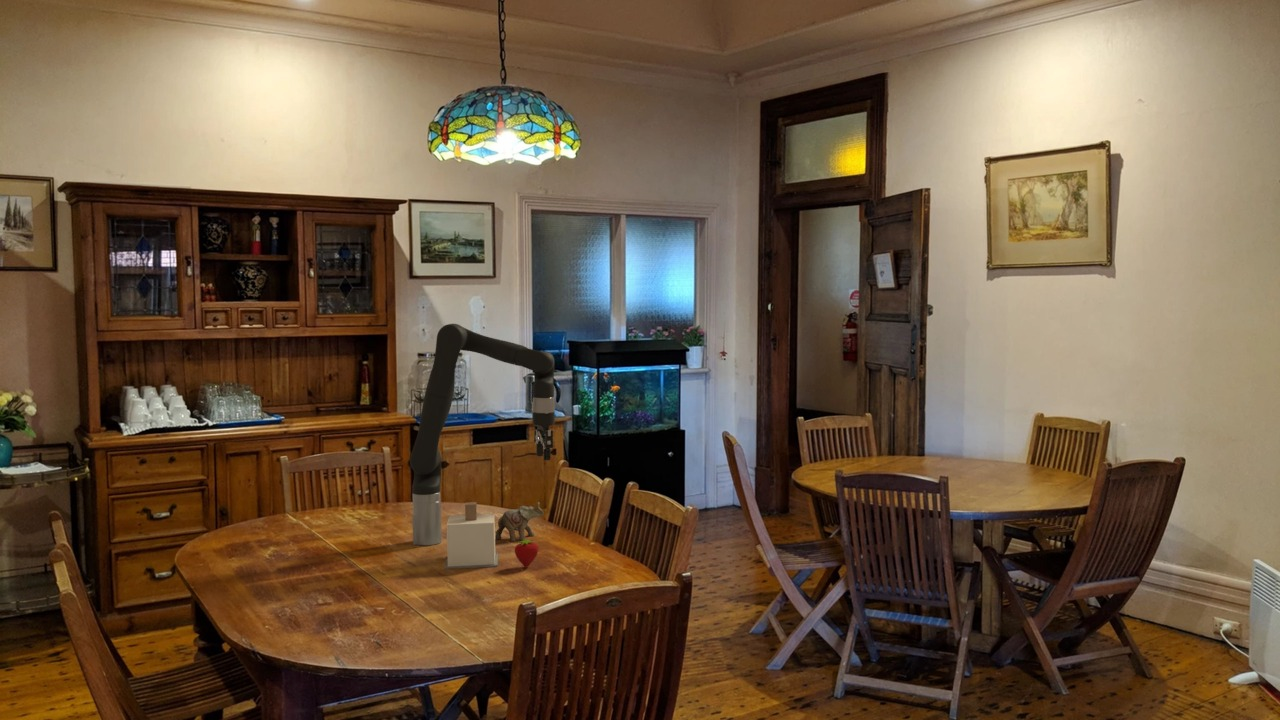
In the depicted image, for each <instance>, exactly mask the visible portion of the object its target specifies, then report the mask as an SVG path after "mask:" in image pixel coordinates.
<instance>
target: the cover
mask: <svg viewBox="0 0 1280 720" xmlns="http://www.w3.org/2000/svg"><path fill="white" fill-rule="evenodd" d="M477 502H478V501H473V502H472V501H471V502H469V501H468V502H465V504H464V513H465V514H457V515H456V514H455V515H453V514H452V515H449V516H448V519H447V522H446V523H447V524H446V545H447V546H446V547H447V551H446V553H447V554H446V555H447V556H448V566H469V565H491V564H495V553H496V528H495V527H496V525H495V523H496V522H495V519H496V516H495V513H482V514H481V513H479V514H478V510H477Z"/></svg>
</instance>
